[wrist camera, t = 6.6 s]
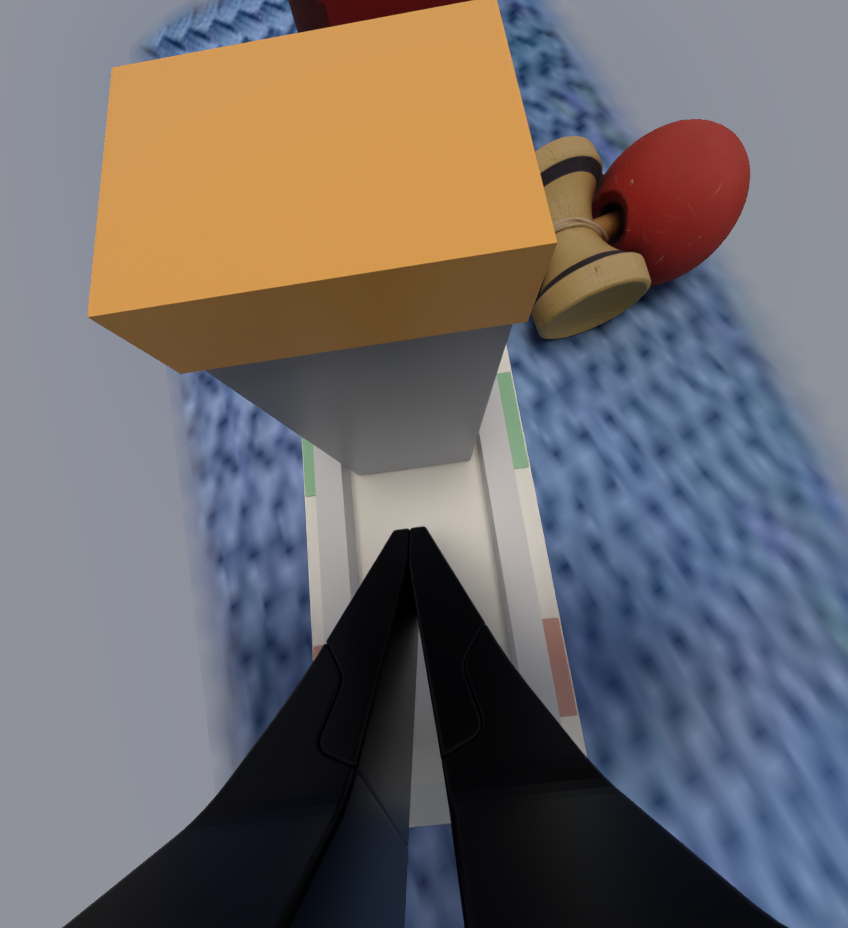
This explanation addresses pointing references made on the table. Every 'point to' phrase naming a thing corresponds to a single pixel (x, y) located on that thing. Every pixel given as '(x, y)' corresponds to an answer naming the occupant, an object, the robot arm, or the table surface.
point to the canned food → (353, 10)
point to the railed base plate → (469, 555)
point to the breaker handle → (330, 226)
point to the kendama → (634, 218)
